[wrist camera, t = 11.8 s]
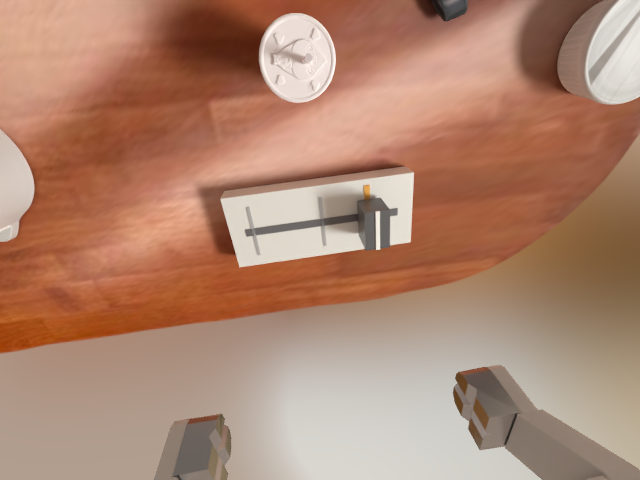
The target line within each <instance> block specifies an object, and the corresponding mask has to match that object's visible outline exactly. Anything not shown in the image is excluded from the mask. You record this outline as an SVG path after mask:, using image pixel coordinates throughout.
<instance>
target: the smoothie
mask: <svg viewBox="0 0 640 480" xmlns="http://www.w3.org/2000/svg"><path fill="white" fill-rule="evenodd" d="M335 63H336V56H335V49H334V45H333V42H332V39H331V37H330V35H329V33H328V32H327V30H326V29H325V28H324V26H323V25H322V24H321V23H320V22H318V21H317V20H316V19H314V18H312V17H310V16H308V15H305V14H301V13H291V14H286V15H284V16H281V17H279V18H278V19H276V20H275V21H274V22H273V23H272V24H271V25H270V26H269V27H268V28H267V30H266V31H265V33H264V35H263V37H262V40H261V44H260V48H259V64H260V70H261V73H262V75H263V78H264V80H265V82H266V84H267V85H268V86H269V88H270V89H271V90H272V91H273V92H274V93H275V94H276V95H278V96H279V97H280V98H282V99H285V100H287V101H290V102H296V103H300V102H307V101H310V100H313V99H315V98H316V97H318V96H319V95H320V94H322V93H323V92H324V91H325V89H326V88H327V87H328V85H329V84H330V82H331V80H332V77H333V74H334V70H335Z"/></svg>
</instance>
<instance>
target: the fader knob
mask: <svg viewBox="0 0 640 480" xmlns="http://www.w3.org/2000/svg"><path fill="white" fill-rule="evenodd" d="M357 211H358V233H359V237H360V239H361V242H362V244H363V246H364V248H365V250H366V251H367V250H373V249H376V250H380V248H387V247H390V209H389V208H388V206H387V205H386V204H385V203H384V201H383V200H382V199H381V198H373V199H366V200H359V201H357Z"/></svg>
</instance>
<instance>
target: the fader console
mask: <svg viewBox="0 0 640 480" xmlns="http://www.w3.org/2000/svg"><path fill="white" fill-rule="evenodd" d="M413 181H414V172H412V171H411V170H410V169H408V168H407V167H406V166H404V167H397V168H389V169H382V170H374V171H367V172H360V173H352V174H345V175H337V176H330V177H323V178H315V179H308V180H301V181H293V182H286V183H278V184H271V185H264V186H256V187H249V188H241V189H234V190H227V191H224V193H223V195H222V196H221V198H220V200H221V204H222V207H223V211H224V214H225V218H226V221H227V225H228V228H229V232H230V235H231V239H232V242H233V246H234V249H235V253H236V256H237V260H238V263H239V267H245V266H252V265H258V264H265V263H272V262H279V261H286V260H292V259H299V258H306V257H313V256H320V255H327V254H333V253H340V252H347V251H354V250H361V249H365V248H364V246H363V244H362V242H361V239H360V237H359V233H358V211H357V201H359V200H366V199H373V198H381V199H382V200H383V201H384V203H385V204H386V205H387V206H388V208H389V209H390V245H395V244H401V243H408V242H411V222H412V201H413Z"/></svg>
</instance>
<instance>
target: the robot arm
mask: <svg viewBox="0 0 640 480" xmlns="http://www.w3.org/2000/svg"><path fill="white" fill-rule="evenodd" d="M33 196H34V180H33V176H32V173H31V170H30V167H29V165H28V163H27V161H26V159H25V158H24V156H23V154H22V153H21V151H20V150H19V149H18V147H17V146H16V145H15V144H14V143H13V141H12V140H11V139H10V138H9V137H8V136H7V135H6V134H5V133H4V132H3V131H2V130H0V242H5V241H9V240H11V239H13V238H15V237H16V236H17V234H18V230H19V220H20V218H21V217H22V215H23V214H24V213H25V212H26V211H27V209H28V208H29V207H30V205H31V203H32V200H33ZM455 379H456V381H457V382H458V383H457V384H456V385H455V386H454V390H453V396H454V401H455V404H456V406H457V408H458V410H459V412H460V414H461V416H462V417H464V418H465V419H467V420H468V421H469V431H470V433H471V435H472V436H473V439H474V440H475V442H476V444H477V446H478V448H479V449H480V450H484V449H490V448H497V447H503V446H506V447H505V448H506V449H507V450H508V451H509V452H511V453H512V454H513V455H514V456H515V457H516V458H518V459H519V460H520V461H521V462H522V463H523V464H525V465H526V466H527V467H528V468H529V469H530V470H532V471H533V472H534V473H535V474H536V475H537V476H538V477H540V478H541V479H542V480H640V470H639V469H638V468H637V467H635V466H633V465H632V464H630V463H628V462H627V461H625V460H624V459H622V458H620V457H619V456H617V455H616V454H614V453H612V452H611V451H609V450H607V449H605V448H604V447H602V446H601V445H599V444H598V443H596V442H594V441H593V440H591V439H589V438H588V437H586V436H584V435H583V434H581V433H580V432H578V431H576V430H575V429H573V428H572V427H570V426H568V425H567V424H565V423H563V422H562V421H560V420H558V419H557V418H555V417H554V416H552V415H550V414H549V413H547V412H546V411H544V410H537V408H536V407H535V406H534V405H533V403H532V402H531V401H530V399H529V398H528V397H527V396H526V394H525V393H524V392H523V391H522V389H521V388H520V387H519V385H518V384H517V383H516V382H515V380H514V379H513V378H512V376H511V375H510V374H509V373H508V371H507V370H506V369H505V368H504V367H503V366H501V365H495V366H489V367H482V368H477V369H472V370H467V371H462V372H458V373H457V374H456V378H455ZM224 420H225V419H224V417H223V415H222V414H216V415H211V416H205V417H199V418H193V419H186V420H180V421H175V422H174V423H173V425H172V427H171V428H170V431H169V434H168V438H167V441H166V444H165V447H164V450H163V453H162V456H161V459H160V463H159V466H158V469H157V472H156V475H155V478H154V480H227V476H228V473H227V471H226V469H225V467H224V466H225V464H226V463H227V461H228V460H229V458H230V452H231V434H230V430H229V428H228V426H226V425H224Z"/></svg>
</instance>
